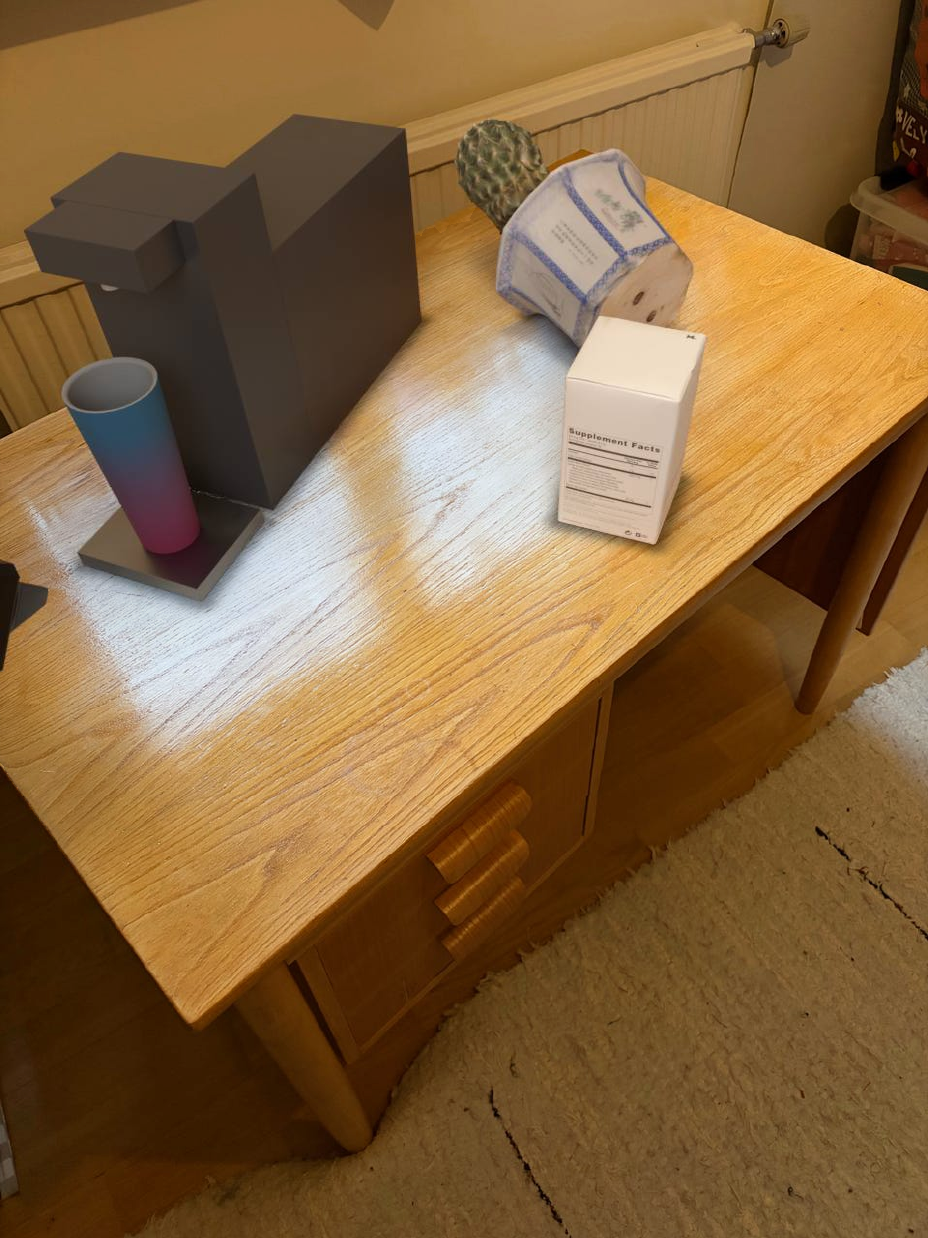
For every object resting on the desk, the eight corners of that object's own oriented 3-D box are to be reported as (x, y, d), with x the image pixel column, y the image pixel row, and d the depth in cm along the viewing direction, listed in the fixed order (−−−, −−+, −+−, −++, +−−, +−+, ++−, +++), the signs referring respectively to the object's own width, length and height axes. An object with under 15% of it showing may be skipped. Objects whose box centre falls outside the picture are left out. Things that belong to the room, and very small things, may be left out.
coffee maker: (246, 544, 75) (153, 254, 56) (132, 511, 79) (5, 226, 59) (421, 321, 97) (399, 54, 77) (326, 302, 100) (281, 42, 80)
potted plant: (743, 207, 81) (553, 35, 91) (589, 276, 76) (406, 86, 86) (689, 345, 97) (532, 185, 107) (558, 410, 91) (406, 235, 102)
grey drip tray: (202, 601, 71) (196, 589, 70) (83, 564, 75) (76, 552, 73) (264, 521, 77) (261, 509, 76) (152, 490, 80) (147, 477, 79)
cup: (209, 556, 73) (153, 406, 61) (126, 567, 72) (54, 418, 61) (212, 501, 77) (160, 351, 65) (133, 510, 76) (68, 362, 65)
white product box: (585, 458, 81) (598, 310, 70) (681, 480, 79) (710, 331, 67) (553, 522, 76) (561, 374, 64) (655, 548, 73) (682, 398, 62)
